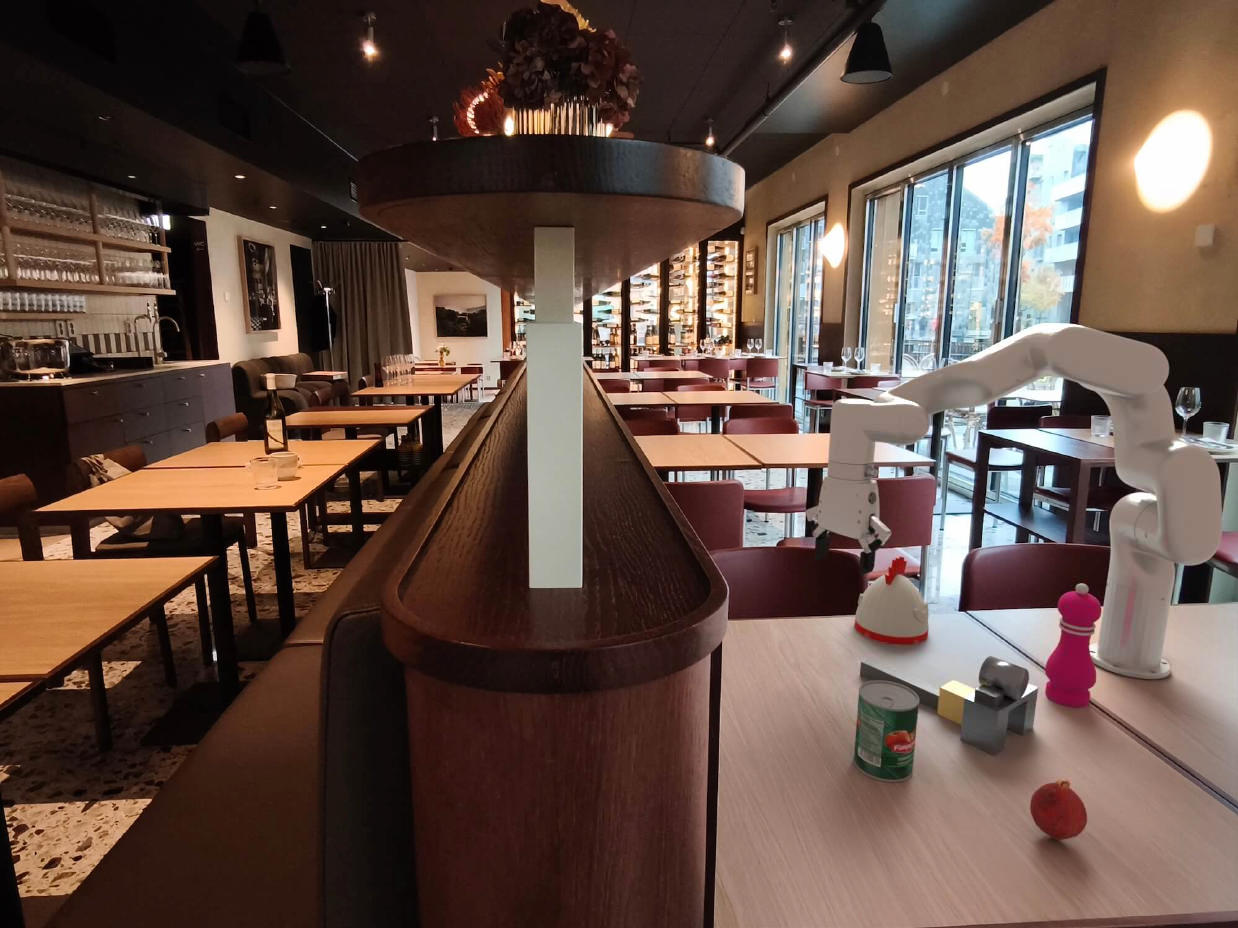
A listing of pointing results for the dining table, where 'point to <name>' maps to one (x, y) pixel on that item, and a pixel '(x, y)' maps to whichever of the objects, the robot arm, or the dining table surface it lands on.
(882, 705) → the canned tomato
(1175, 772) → the dining table surface
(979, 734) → the block
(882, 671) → the yellow tipped gray bar
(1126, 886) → the dining table surface
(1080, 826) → the red rounded piece
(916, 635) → the kitchen timer
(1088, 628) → the pepper mill
